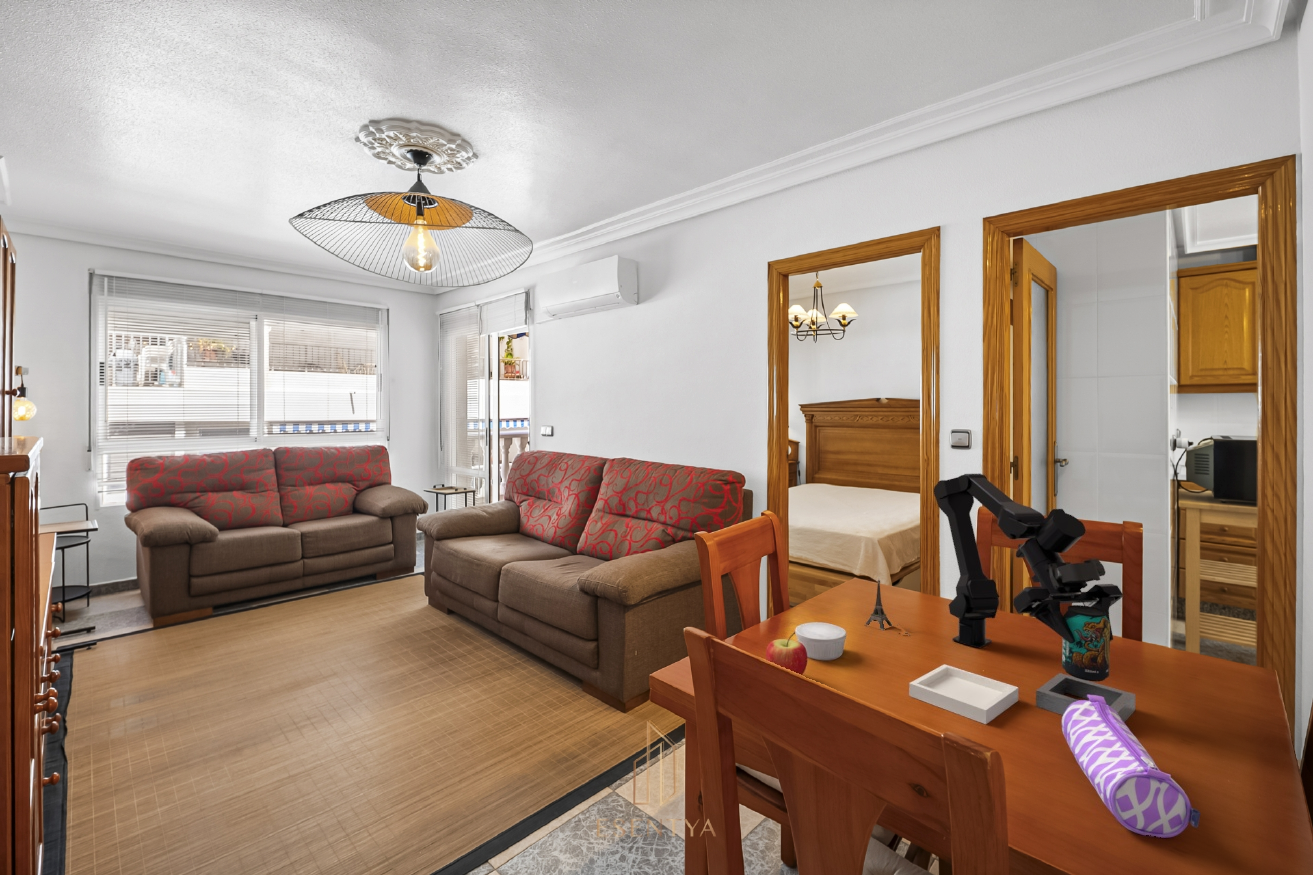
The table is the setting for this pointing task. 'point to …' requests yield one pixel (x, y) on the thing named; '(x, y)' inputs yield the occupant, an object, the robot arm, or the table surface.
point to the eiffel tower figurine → (879, 611)
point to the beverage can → (1087, 643)
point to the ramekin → (821, 640)
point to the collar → (1082, 695)
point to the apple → (788, 654)
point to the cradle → (964, 693)
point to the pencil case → (1125, 771)
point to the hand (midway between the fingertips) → (1092, 641)
